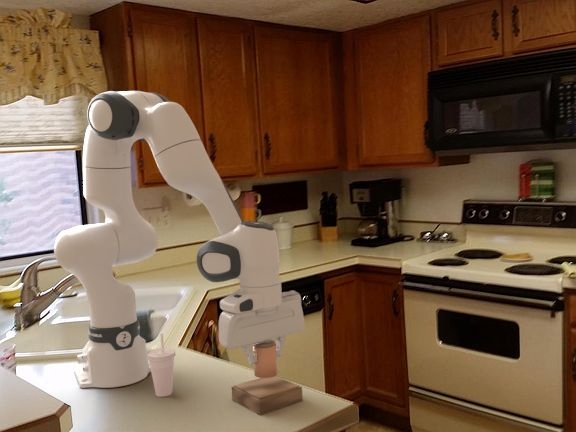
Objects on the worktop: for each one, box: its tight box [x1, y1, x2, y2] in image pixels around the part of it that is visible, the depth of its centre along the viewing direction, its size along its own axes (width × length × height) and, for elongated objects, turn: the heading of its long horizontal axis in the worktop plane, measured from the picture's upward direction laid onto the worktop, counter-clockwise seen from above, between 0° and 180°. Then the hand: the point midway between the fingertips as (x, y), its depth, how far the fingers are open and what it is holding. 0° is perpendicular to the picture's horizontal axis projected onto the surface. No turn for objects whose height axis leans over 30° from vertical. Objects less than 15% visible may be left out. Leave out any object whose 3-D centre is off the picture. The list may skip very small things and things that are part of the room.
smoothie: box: [147, 333, 177, 398], centre depth 139 cm, size 6×6×14 cm
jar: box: [252, 339, 279, 378], centre depth 131 cm, size 5×5×7 cm
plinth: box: [231, 375, 303, 416], centre depth 132 cm, size 11×11×3 cm
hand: (265, 359), depth 131 cm, fingers closed on jar, 5 cm apart
